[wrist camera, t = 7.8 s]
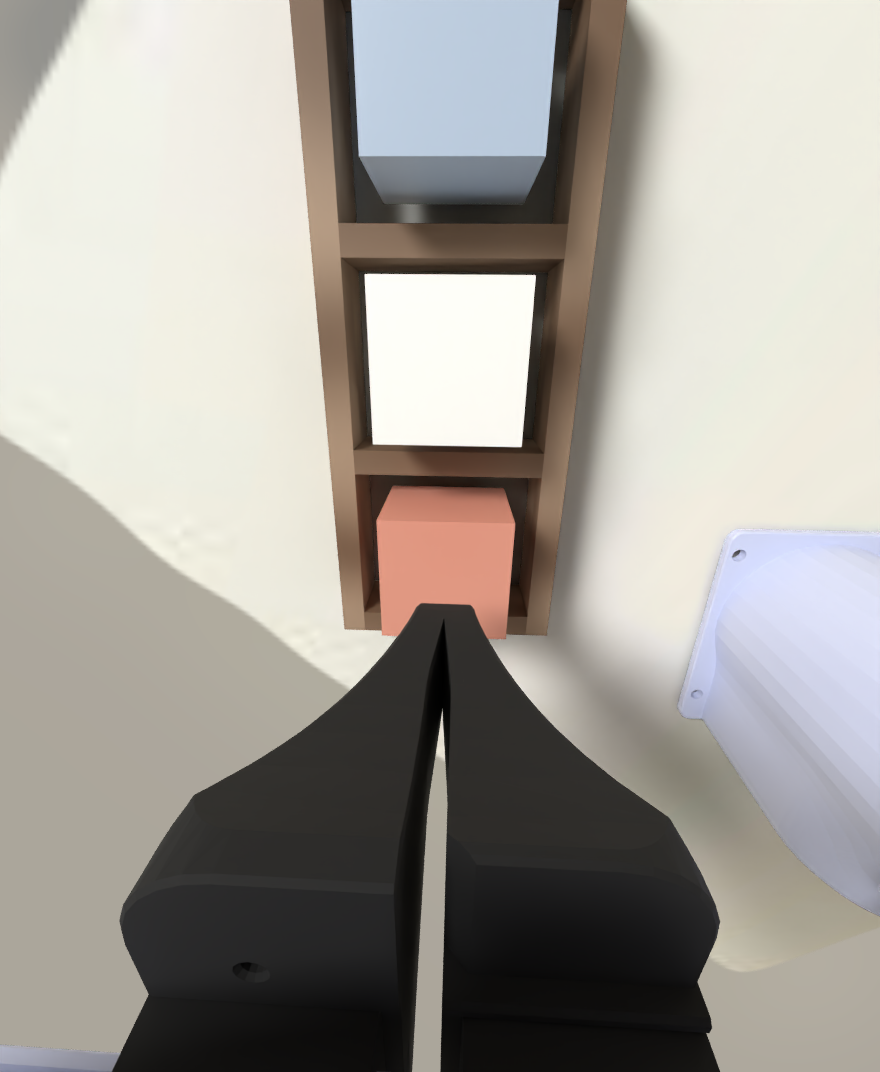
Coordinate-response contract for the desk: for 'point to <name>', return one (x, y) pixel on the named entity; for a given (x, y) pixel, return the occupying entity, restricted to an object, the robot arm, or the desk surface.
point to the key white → (448, 358)
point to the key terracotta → (445, 553)
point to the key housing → (452, 249)
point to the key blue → (453, 97)
